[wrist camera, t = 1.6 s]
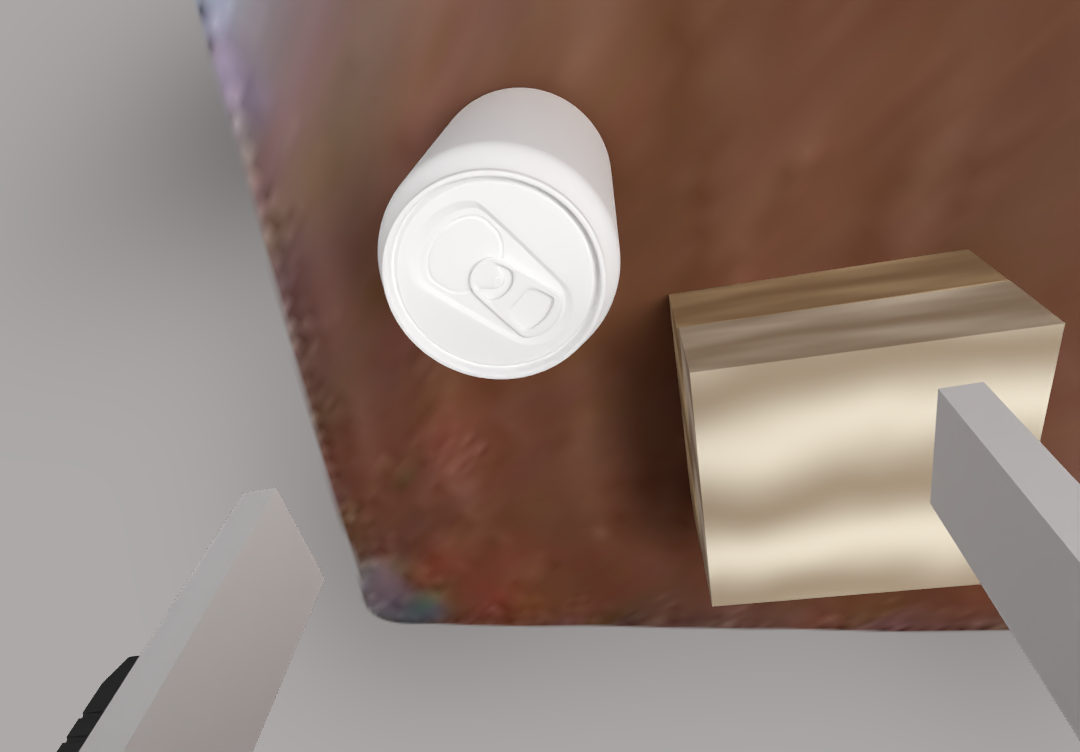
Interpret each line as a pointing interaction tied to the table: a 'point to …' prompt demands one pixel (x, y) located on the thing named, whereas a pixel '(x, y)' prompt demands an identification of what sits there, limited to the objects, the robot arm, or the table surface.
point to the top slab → (846, 435)
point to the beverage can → (504, 237)
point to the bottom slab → (819, 299)
